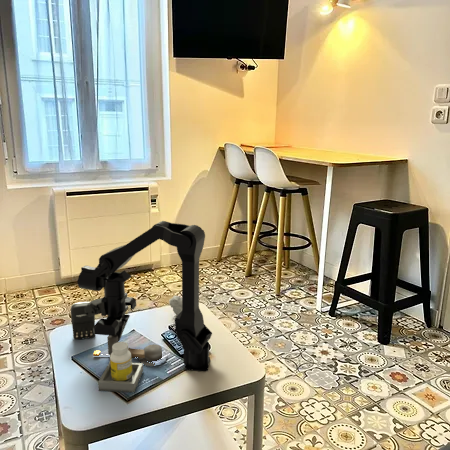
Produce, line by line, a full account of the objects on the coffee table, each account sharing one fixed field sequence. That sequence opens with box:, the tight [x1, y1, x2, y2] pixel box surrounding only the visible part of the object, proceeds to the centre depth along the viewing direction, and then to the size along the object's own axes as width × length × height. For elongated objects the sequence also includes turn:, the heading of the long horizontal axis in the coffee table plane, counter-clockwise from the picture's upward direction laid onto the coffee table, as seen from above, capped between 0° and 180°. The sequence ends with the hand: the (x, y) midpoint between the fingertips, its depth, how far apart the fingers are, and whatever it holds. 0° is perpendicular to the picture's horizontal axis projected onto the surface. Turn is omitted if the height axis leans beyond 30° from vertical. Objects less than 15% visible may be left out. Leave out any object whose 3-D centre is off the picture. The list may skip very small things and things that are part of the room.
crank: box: [107, 335, 163, 361], centre depth 123 cm, size 16×5×5 cm, turn 81°
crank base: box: [92, 350, 155, 367], centre depth 124 cm, size 21×8×1 cm, turn 87°
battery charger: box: [70, 301, 96, 341], centre depth 133 cm, size 7×4×11 cm, turn 107°
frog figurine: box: [168, 295, 182, 316], centre depth 149 cm, size 6×7×7 cm
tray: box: [97, 361, 144, 393], centre depth 113 cm, size 9×9×2 cm
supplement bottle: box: [109, 341, 133, 382], centre depth 112 cm, size 5×5×10 cm
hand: (117, 340), depth 128 cm, fingers closed
